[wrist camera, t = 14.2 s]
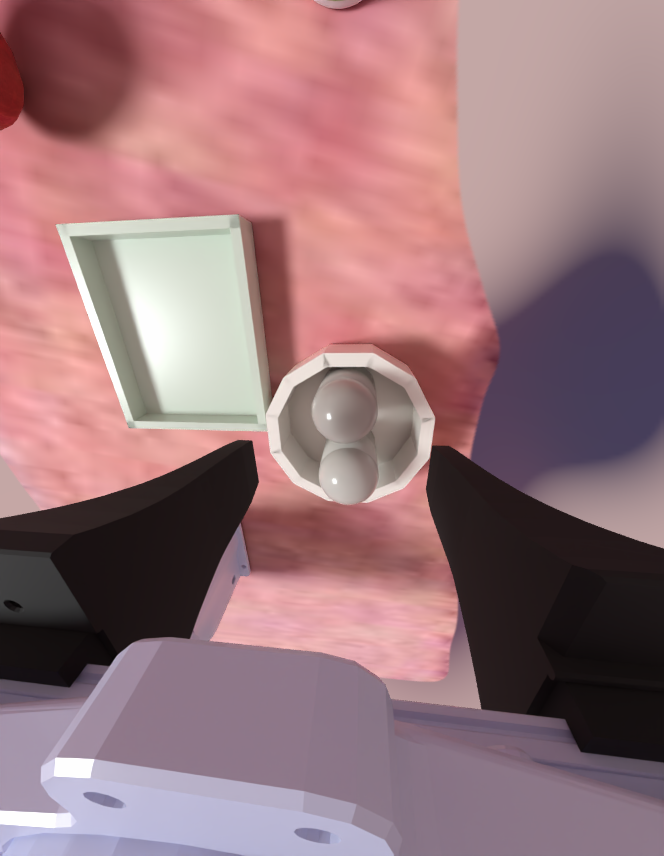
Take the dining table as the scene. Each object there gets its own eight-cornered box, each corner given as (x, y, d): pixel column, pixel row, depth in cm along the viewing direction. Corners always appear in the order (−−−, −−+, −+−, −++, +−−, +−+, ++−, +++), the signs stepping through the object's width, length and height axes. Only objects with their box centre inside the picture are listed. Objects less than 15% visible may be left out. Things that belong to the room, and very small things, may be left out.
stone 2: (380, 458, 22) (387, 512, 16) (334, 468, 23) (326, 523, 17) (368, 415, 21) (371, 457, 15) (320, 427, 22) (305, 471, 16)
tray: (274, 420, 22) (267, 431, 21) (146, 418, 24) (128, 428, 22) (251, 223, 17) (238, 214, 15) (86, 231, 18) (55, 224, 16)
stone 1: (375, 411, 21) (380, 455, 15) (324, 413, 21) (310, 456, 15) (374, 359, 19) (379, 386, 13) (319, 363, 20) (301, 390, 14)
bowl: (414, 477, 23) (422, 505, 20) (287, 472, 24) (276, 498, 21) (431, 343, 19) (444, 352, 16) (274, 344, 20) (257, 353, 17)
